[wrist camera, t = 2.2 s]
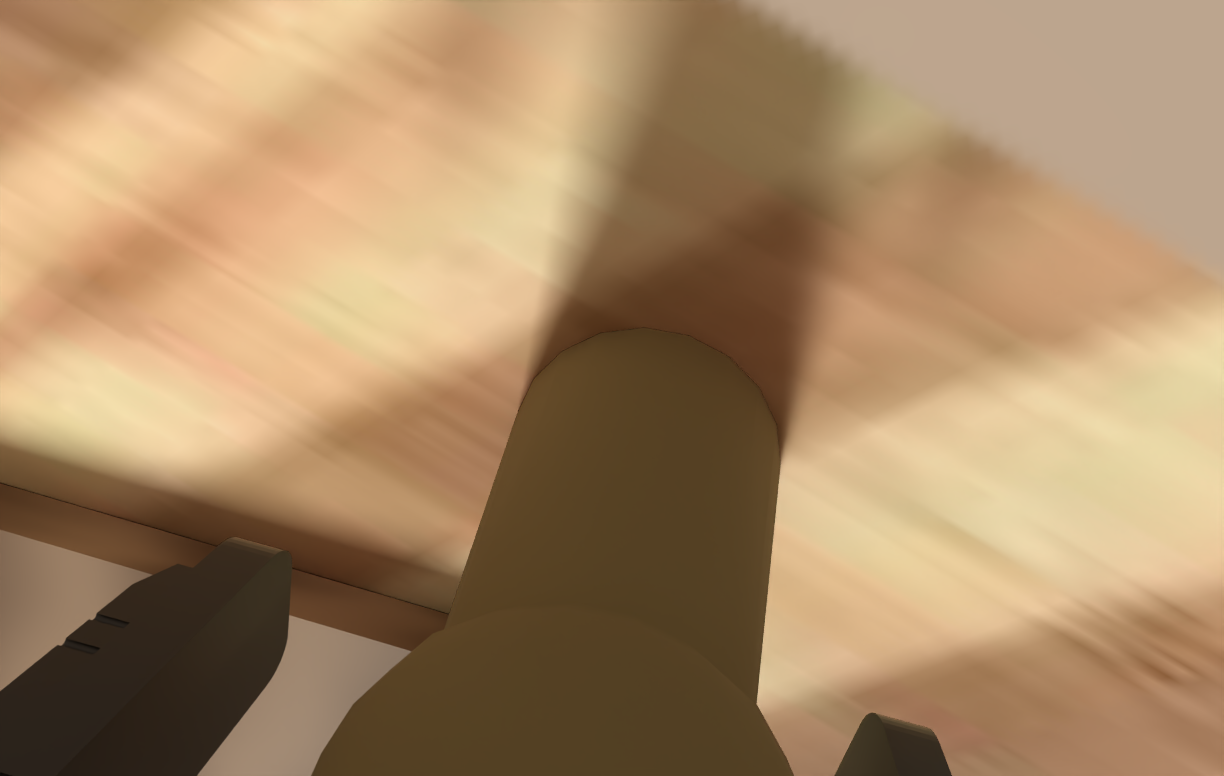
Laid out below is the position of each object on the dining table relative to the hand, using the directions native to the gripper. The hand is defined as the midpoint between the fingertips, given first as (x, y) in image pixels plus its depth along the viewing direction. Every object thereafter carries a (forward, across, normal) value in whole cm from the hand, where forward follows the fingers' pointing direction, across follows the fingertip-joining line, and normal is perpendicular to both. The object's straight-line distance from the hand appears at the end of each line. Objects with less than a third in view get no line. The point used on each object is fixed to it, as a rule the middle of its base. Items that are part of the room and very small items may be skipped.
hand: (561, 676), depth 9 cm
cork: (+7, -1, 0) cm, 7 cm away
